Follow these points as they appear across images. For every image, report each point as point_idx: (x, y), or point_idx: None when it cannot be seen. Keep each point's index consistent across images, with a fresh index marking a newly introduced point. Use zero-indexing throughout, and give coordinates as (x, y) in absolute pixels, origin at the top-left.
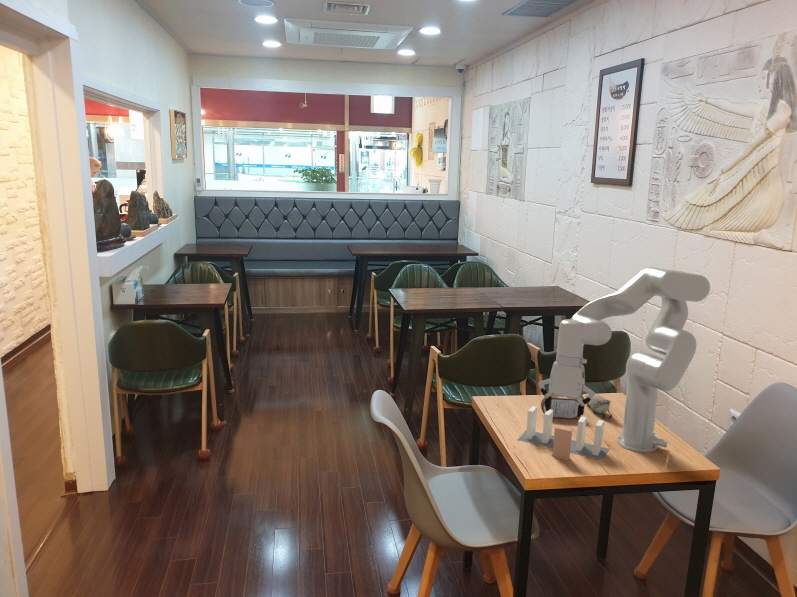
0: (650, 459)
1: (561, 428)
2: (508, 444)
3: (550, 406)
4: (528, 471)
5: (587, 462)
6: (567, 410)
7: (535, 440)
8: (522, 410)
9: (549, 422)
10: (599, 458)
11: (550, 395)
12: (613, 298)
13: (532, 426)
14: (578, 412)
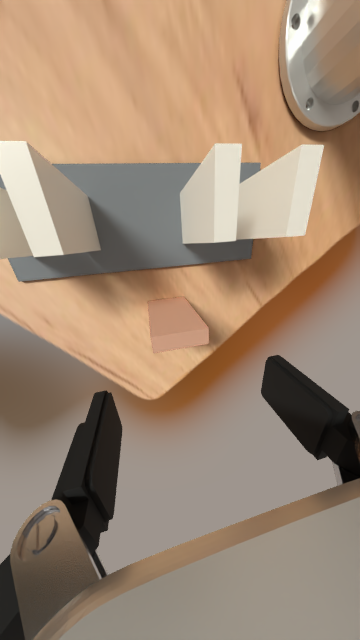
0: (349, 164)
1: (175, 343)
2: (22, 317)
3: (110, 411)
4: (140, 388)
5: (220, 285)
6: None
7: None
8: None
9: (75, 234)
10: (242, 253)
11: (84, 532)
12: None
13: (15, 243)
14: (283, 416)
